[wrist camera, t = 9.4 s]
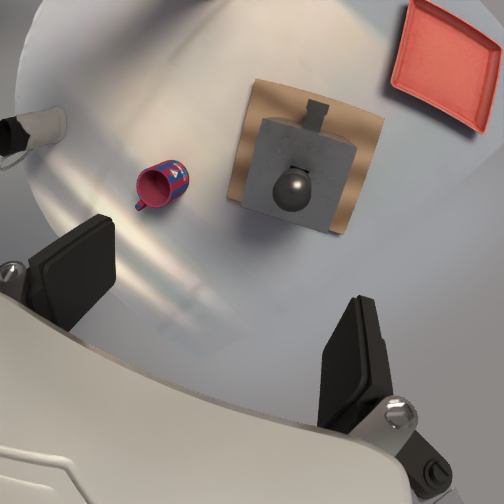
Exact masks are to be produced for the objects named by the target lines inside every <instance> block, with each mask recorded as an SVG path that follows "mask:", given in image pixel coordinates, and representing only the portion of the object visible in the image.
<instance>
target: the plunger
mask: <svg viewBox="0 0 504 504" xmlns="http://www.w3.org/2000/svg"><path fill="white" fill-rule="evenodd" d="M308 172H309V171H307V170H304V169H301V168H298V167H294V166H290V169H287V170H285V171H284V172H283V173H281V175H280V176H279V178H278V179H277V181H276V183H275V184H274V187H273V191H272V195H273V199H274V201H275V203H276V204H277V206H278V207H280V208H281V209H282V210H284V211H287V212H297V211H300V210H302V209H304V208H305V207H306V206H307V205H308V203H309V202H310V199H311V190H312V183H311V179H310V177H309V176H308Z"/></svg>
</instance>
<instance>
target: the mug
mask: <svg viewBox="0 0 504 504" xmlns="http://www.w3.org/2000/svg"><path fill="white" fill-rule="evenodd" d="M188 185H189V174H188V172H187V170H186V168H185V167H184V166H183V165H182V164H181V163H180V162H178V161H175V160H168V161H165V162H162V163H160V164H157V165H155V166H152V167H150V168H147V169H145V170H144V171H142V172H141V173H140V175H139V177H138V179H137V192H138V195H139V197H140V199H141V200H140V201H139V202H138V203H137V204H136V205H135V208H136V210H138V211H140V210H142V209H143V208H145V207H146V206H147V205H148V206H150V207H153V208H160V207H163V206H165V205H166V204H168V203H169V202H171V201H172V200H174V199H175V198H177V197H178V196H180V195H181V194H183V193H184V192H185V191H186V189H187V188H188Z"/></svg>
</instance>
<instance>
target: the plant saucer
mask: <svg viewBox="0 0 504 504" xmlns="http://www.w3.org/2000/svg"><path fill="white" fill-rule="evenodd" d="M502 54H503V49H502V47H501V46H500V45H499V44H498V43H497V42H495V41H494V40H493V39H491V38H490V37H488V36H487V35H485V34H484V33H483V32H481V31H480V30H478V29H477V28H475V27H474V26H472V25H470V24H469V23H467V22H466V21H464V20H463V19H461V18H459V17H458V16H456V15H454V14H452V13H451V12H449V11H447V10H445V9H444V8H442V7H440V6H438V5H436V4H434V3H432V2H430V1H428V0H409V5H408V10H407V15H406V19H405V24H404V28H403V33H402V37H401V42H400V46H399V50H398V54H397V58H396V62H395V66H394V70H393V73H392V77H391V81H390V82H391V85H392V86H393V87H395V88H397V89H399V90H401V91H403V92H406V93H408V94H410V95H412V96H414V97H416V98H418V99H420V100H422V101H424V102H426V103H428V104H430V105H432V106H434V107H436V108H438V109H440V110H441V111H443V112H445V113H447V114H448V115H450V116H452V117H454V118H455V119H457V120H459V121H461V122H462V123H464V124H466V125H467V126H469V127H470V128H472V129H473V130H475V131H476V132H478V133H480V134H481V135H482V134H485V133H486V130H487V126H488V123H489V119H490V115H491V111H492V107H493V103H494V98H495V94H496V88H497V84H498V79H499V73H500V67H501V61H502Z"/></svg>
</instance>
